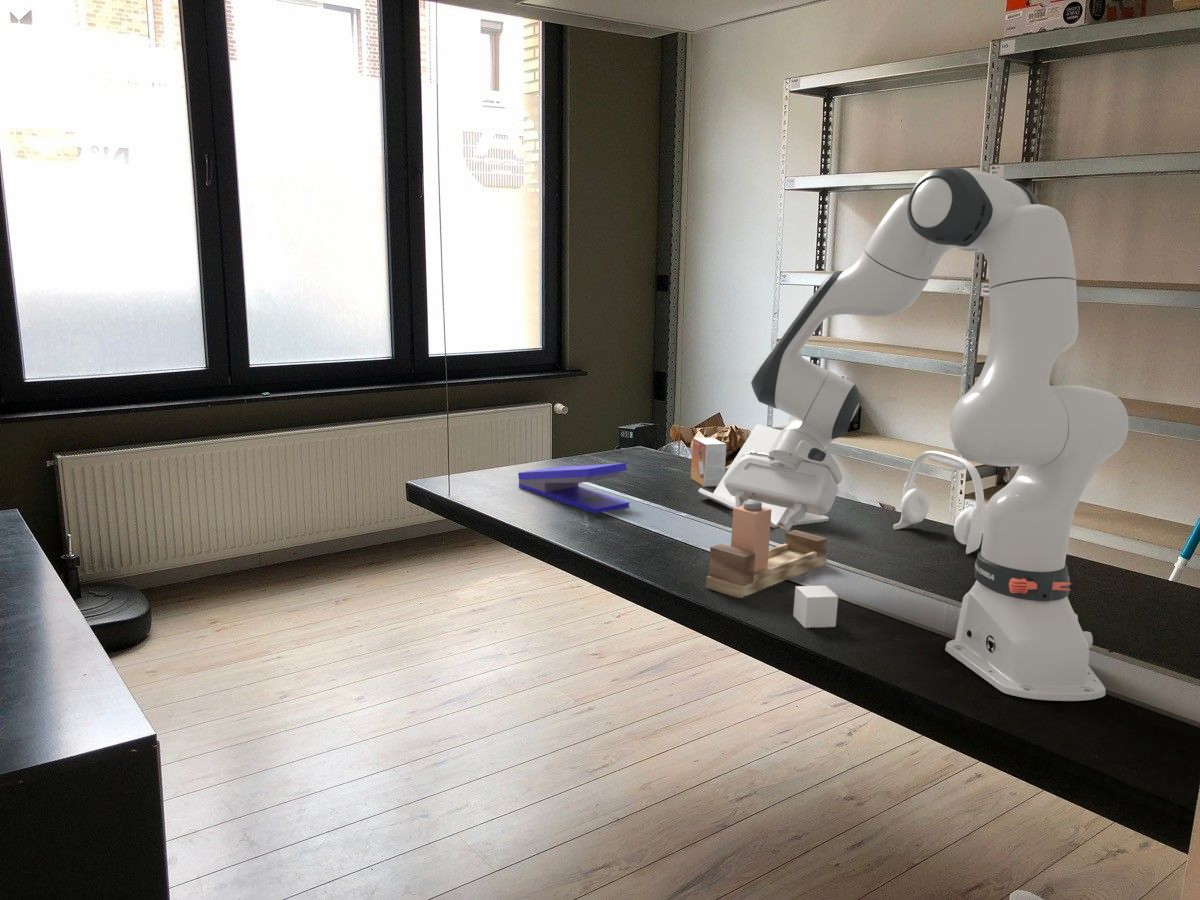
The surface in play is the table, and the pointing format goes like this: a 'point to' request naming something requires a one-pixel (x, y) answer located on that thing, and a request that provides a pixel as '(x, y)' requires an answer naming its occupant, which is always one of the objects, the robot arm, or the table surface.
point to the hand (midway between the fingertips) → (759, 522)
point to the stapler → (574, 485)
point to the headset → (918, 502)
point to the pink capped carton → (752, 531)
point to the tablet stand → (761, 442)
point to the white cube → (815, 606)
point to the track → (785, 561)
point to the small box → (708, 461)
